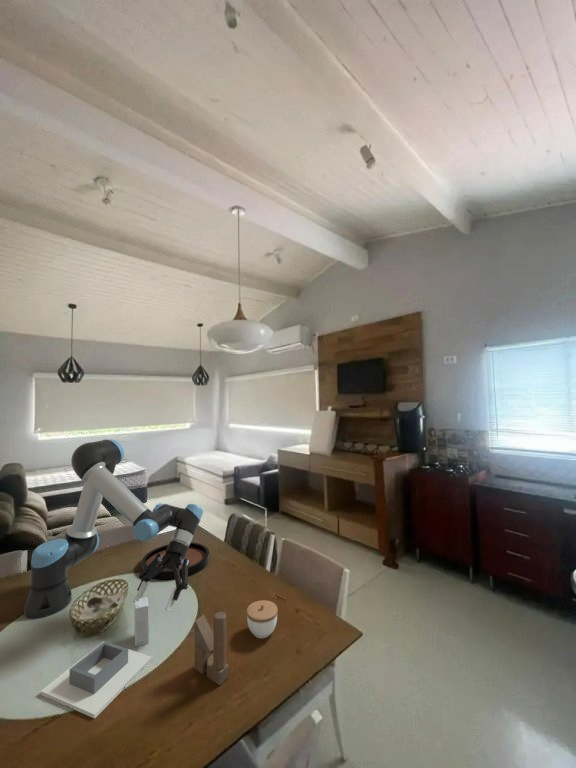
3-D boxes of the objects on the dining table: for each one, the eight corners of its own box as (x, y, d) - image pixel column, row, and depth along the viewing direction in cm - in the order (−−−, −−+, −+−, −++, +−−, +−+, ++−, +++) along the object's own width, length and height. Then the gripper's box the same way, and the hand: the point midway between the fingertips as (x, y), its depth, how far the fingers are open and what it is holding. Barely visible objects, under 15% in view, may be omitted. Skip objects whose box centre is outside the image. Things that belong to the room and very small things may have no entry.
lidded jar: (273, 645, 109) (273, 616, 109) (242, 641, 111) (242, 612, 111) (280, 624, 119) (280, 597, 120) (252, 620, 121) (252, 593, 122)
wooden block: (203, 661, 102) (203, 601, 103) (228, 677, 96) (229, 613, 97) (193, 669, 99) (194, 607, 100) (219, 686, 93) (220, 620, 94)
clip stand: (40, 694, 91) (41, 675, 91) (103, 644, 110) (103, 628, 110) (94, 718, 84) (95, 698, 84) (151, 660, 103) (152, 643, 103)
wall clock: (217, 543, 178) (194, 574, 147) (217, 551, 177) (194, 583, 146) (162, 540, 181) (128, 569, 150) (162, 548, 181) (127, 579, 150)
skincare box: (149, 643, 110) (149, 605, 111) (134, 647, 108) (134, 609, 109) (147, 631, 116) (148, 595, 116) (133, 635, 114) (134, 599, 114)
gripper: (210, 552, 128) (186, 617, 113) (158, 543, 136) (129, 602, 121) (202, 544, 123) (176, 610, 108) (148, 535, 131) (117, 596, 117)
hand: (151, 606), depth 115 cm, fingers open, 13 cm apart
